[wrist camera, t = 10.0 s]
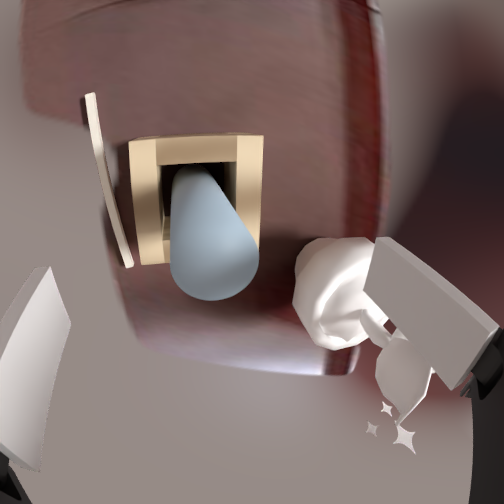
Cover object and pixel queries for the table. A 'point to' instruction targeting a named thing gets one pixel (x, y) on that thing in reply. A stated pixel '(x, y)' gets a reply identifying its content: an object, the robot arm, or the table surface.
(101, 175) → the white thin rod
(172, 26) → the table surface
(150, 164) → the wooden box
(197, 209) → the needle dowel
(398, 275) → the robot arm
